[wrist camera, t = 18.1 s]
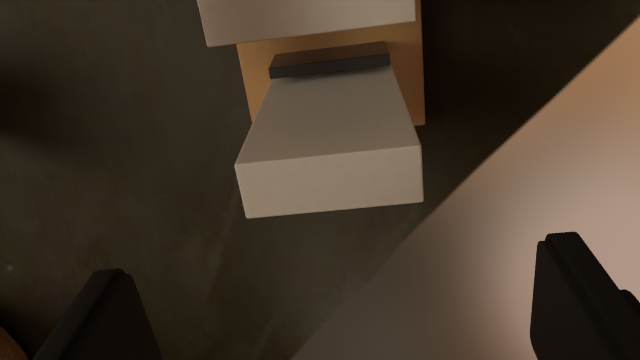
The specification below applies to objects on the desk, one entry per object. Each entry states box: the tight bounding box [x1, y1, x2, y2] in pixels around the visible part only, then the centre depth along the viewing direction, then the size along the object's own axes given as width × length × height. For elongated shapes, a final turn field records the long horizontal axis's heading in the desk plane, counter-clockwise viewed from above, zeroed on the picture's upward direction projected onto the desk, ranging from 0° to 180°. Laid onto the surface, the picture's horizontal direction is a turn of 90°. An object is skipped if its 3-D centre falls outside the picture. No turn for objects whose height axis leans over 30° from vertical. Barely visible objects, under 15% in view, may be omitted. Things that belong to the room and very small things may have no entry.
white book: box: [235, 62, 424, 218], centre depth 23 cm, size 6×2×12 cm, turn 97°
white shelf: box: [197, 0, 425, 126], centre depth 21 cm, size 10×16×13 cm, turn 7°
